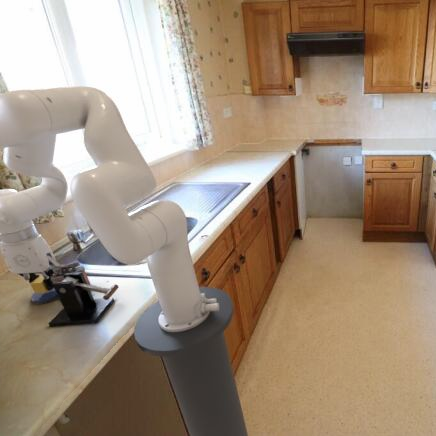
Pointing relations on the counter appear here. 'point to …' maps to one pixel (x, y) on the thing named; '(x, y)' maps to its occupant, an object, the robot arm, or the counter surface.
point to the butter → (39, 285)
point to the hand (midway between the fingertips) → (46, 287)
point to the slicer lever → (93, 287)
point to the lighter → (67, 269)
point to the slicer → (78, 303)
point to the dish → (44, 297)
